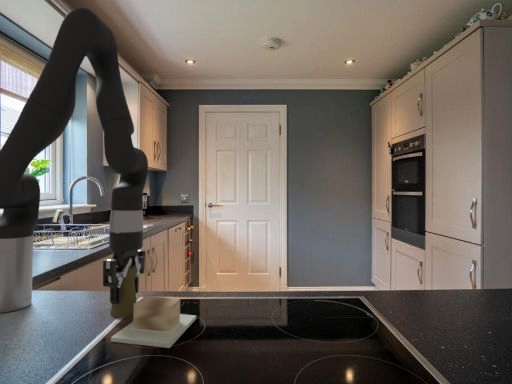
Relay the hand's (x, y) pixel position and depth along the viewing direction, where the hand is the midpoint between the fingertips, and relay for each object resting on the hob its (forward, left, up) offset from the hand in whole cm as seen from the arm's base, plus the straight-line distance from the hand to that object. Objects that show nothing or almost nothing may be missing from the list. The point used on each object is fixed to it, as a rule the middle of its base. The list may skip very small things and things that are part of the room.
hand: (124, 298), depth 75 cm
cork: (0, 0, -4) cm, 4 cm away
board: (+12, -7, -3) cm, 14 cm away
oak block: (+12, -7, -3) cm, 14 cm away
